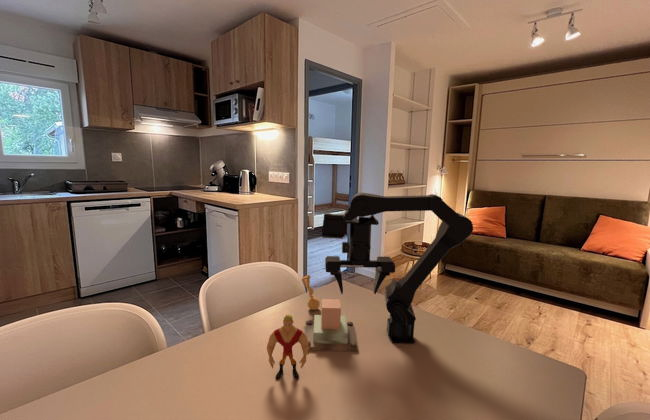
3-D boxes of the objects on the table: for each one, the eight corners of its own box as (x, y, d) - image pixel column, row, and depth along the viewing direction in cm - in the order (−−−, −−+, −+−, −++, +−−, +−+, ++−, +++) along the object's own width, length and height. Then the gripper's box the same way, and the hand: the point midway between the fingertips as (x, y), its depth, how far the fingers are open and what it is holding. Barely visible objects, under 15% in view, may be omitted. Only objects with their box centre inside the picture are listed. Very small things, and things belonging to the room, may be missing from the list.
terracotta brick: (339, 319, 84) (339, 299, 83) (340, 329, 79) (340, 308, 78) (321, 318, 84) (322, 299, 83) (321, 328, 79) (322, 307, 78)
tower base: (352, 325, 88) (353, 313, 88) (357, 351, 77) (358, 337, 76) (305, 324, 88) (306, 311, 88) (303, 350, 76) (303, 335, 76)
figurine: (321, 315, 94) (322, 279, 92) (302, 316, 93) (303, 280, 91) (317, 302, 102) (318, 269, 100) (300, 303, 101) (300, 270, 99)
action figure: (265, 381, 65) (265, 318, 63) (267, 369, 69) (267, 310, 66) (308, 381, 66) (309, 318, 63) (308, 369, 69) (309, 310, 67)
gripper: (387, 232, 89) (384, 281, 91) (325, 232, 88) (324, 281, 91) (397, 242, 78) (394, 298, 80) (326, 242, 77) (325, 298, 80)
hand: (358, 293), depth 83 cm, fingers open, 9 cm apart
